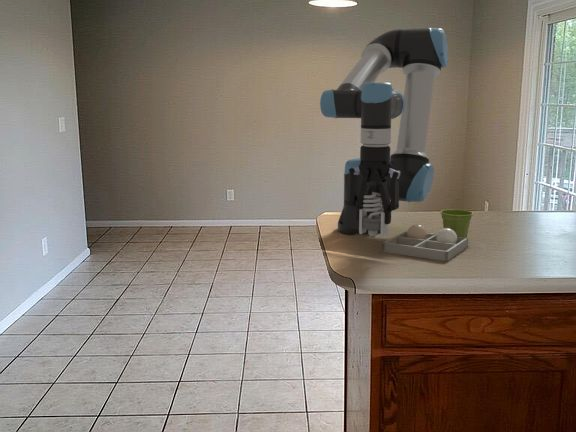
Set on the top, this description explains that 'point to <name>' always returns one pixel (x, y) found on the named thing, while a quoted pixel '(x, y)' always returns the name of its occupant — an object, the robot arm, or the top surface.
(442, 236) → the white egg
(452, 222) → the plant pot
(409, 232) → the brown egg
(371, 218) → the light bulb
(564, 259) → the top surface
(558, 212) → the top surface
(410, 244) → the carton
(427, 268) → the top surface
